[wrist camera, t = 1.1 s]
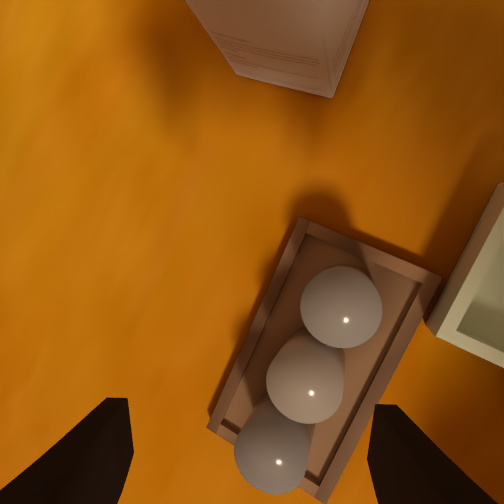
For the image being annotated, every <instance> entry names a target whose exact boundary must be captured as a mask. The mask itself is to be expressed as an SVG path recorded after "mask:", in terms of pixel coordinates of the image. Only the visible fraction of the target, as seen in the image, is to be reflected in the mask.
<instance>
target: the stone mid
mask: <svg viewBox="0 0 504 504" xmlns="http://www.w3.org/2000/svg"><path fill="white" fill-rule="evenodd" d="M344 373H345V354H344V350H343V348H336V347H332V346H328V345H326V344H324V343H322V342H320V341H319V340H317V339H316V338H315V337H314V336H313V335H312V334H311V333H310V332H309V331H308V329H307V328H302V329H300V330H298V331H296V332H294V333H293V334H292V335H291V336H290V337H289V338H288V340H287V341H286V342H285V344H284V345H283V347H282V348H281V350H280V351H279V352H278V354H277V355H276V357H275V358H274V359H273V361H272V362H271V364H270V366H269V368H268V372H267V377H266V385H267V391H268V394H269V397H270V399H271V401H272V402H273V404H274V405H275V407H276V408H277V409H278V410H279V411H280V412H281V413H282V414H283V415H285V416H286V417H288V418H289V419H291V420H293V421H296V422H300V423H305V424H313V423H318V422H322V421H324V420H326V419H328V418H329V417H331V416H332V415H333V414H334V413H335V412H336V410H337V409H338V407H339V406H340V403H341V401H342V397H343V387H344Z"/></svg>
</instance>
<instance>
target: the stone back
mask: <svg viewBox="0 0 504 504" xmlns="http://www.w3.org/2000/svg"><path fill="white" fill-rule="evenodd" d="M315 424H316V423H313V424H305V423H300V422H296V421H293V420H291V419H289V418H288V417H286V416H285V415H283V414H282V413H281V412H280V411H279V410H278V409H277V408H276V407H275V405H274V404H273V402H272V401H271V399H270V397H269V394H268V391H267V392H265V393H264V394H263V395H262V397H261V398H260V400H259V401H258V403H257V405H256V406H255V408H254V410H253V411H252V413H251V414H250V416H249V418H248V419H247V421H246V423H245V424H244V426H243V427H242V429H241V431H240V432H239V434H238V436H237V438H236V441H235V446H234V455H235V461H236V464H237V467H238V469H239V471H240V473H241V474H242V476H243V477H244V478H245V479H246V481H247V482H249V483H250V484H251V485H252V486H253V487H255V488H256V489H258V490H260V491H262V492H265V493H268V494H277V495H278V494H285V493H288V492H290V491H292V490H294V489H295V488H296V487H297V486H298V485H299V484H300V483H301V481H302V480H303V478H304V475H305V472H306V467H307V463H308V458H309V453H310V449H311V444H312V439H313V435H314V430H315Z"/></svg>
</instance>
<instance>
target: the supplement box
mask: <svg viewBox="0 0 504 504" xmlns="http://www.w3.org/2000/svg"><path fill="white" fill-rule="evenodd" d="M184 1H185V2H186V3H187V5H188V6H189V8H190V9H191V11H192V12H193V13H194V15H195V16H196V18H197V19H198V21H199V22H200V23H201V25H202V26H203V28H204V29H205V31H206V32H207V33H208V35H209V36H210V38H211V39H212V40H213V42H214V43H215V45H216V46H217V48H218V49H219V50H220V52H221V53H222V55H223V56H224V58H225V59H226V61H227V62H228V63H229V65H230V66H231V68H232V69H233V71H234V72H235V74H236V75H239V76H243V77H247V78H250V79H254V80H258V81H262V82H266V83H270V84H274V85H279V86H283V87H287V88H291V89H295V90H299V91H303V92H307V93H311V94H315V95H320V96H324V97H328V98H333V96H334V94H335V91H336V88H337V86H338V83H339V81H340V78H341V75H342V72H343V70H344V67H345V64H346V62H347V59H348V57H349V54H350V51H351V48H352V46H353V43H354V40H355V38H356V35H357V32H358V30H359V27H360V24H361V22H362V19H363V16H364V14H365V11H366V8H367V6H368V3H369V0H184Z"/></svg>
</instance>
